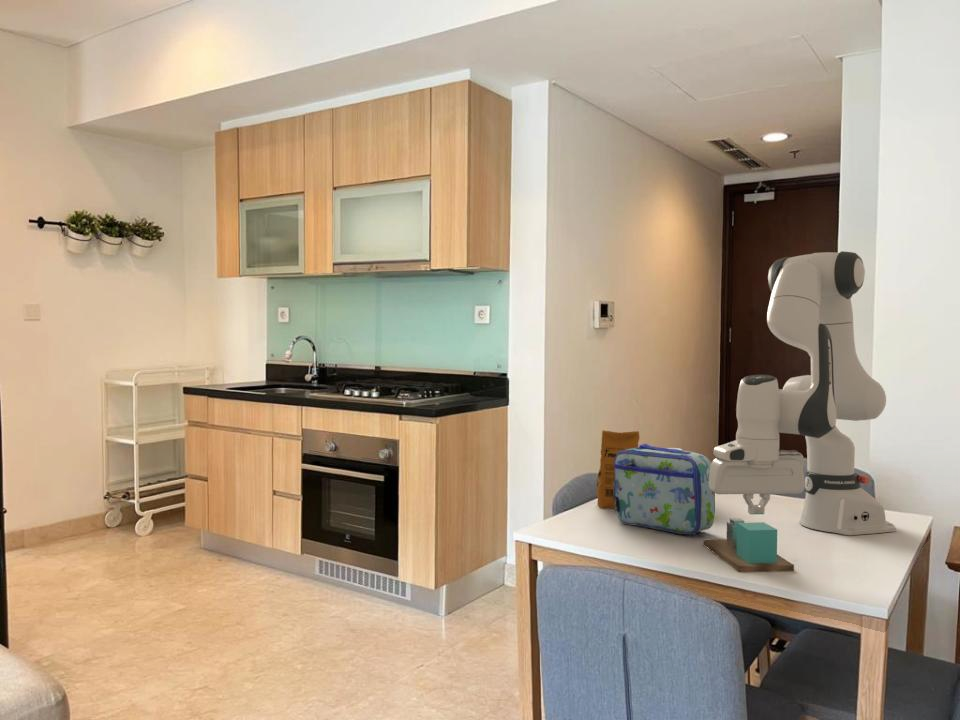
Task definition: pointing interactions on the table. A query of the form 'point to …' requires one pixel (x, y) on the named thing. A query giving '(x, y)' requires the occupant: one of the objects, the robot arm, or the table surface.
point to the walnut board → (741, 565)
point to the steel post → (733, 531)
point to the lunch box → (663, 489)
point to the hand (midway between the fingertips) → (756, 513)
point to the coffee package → (612, 463)
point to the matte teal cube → (757, 542)
